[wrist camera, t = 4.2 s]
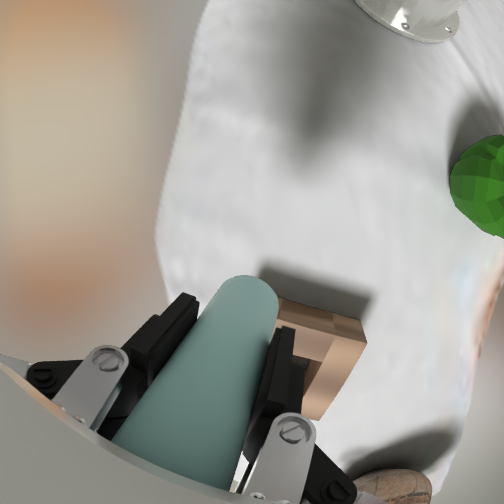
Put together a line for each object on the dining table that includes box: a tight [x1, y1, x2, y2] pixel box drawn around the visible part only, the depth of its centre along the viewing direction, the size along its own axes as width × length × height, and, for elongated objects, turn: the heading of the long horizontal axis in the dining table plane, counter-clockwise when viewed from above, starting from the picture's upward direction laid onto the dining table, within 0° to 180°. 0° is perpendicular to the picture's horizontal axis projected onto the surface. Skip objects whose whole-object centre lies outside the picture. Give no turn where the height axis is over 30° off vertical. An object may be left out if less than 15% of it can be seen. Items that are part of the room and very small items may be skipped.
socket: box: [272, 297, 367, 421], centre depth 25 cm, size 11×11×4 cm
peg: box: [110, 275, 279, 491], centre depth 9 cm, size 3×3×10 cm
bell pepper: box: [450, 135, 504, 239], centre depth 14 cm, size 8×8×10 cm
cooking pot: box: [353, 468, 432, 504], centre depth 26 cm, size 25×19×12 cm
